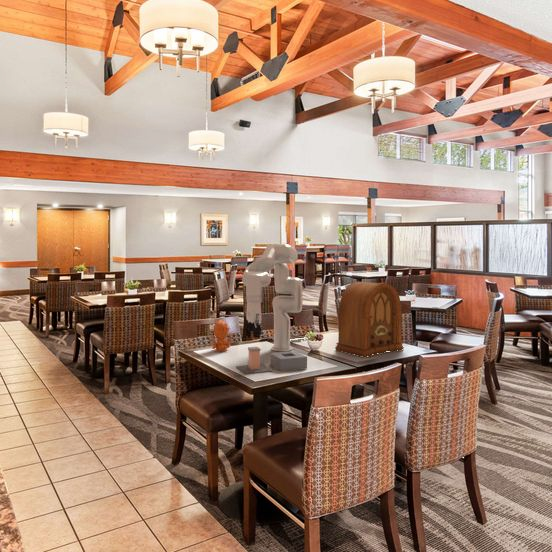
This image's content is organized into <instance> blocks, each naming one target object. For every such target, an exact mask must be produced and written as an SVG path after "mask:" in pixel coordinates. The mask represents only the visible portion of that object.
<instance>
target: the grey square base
mask: <svg viewBox="0 0 552 552" xmlns="http://www.w3.org/2000/svg"><path fill="white" fill-rule="evenodd" d="M270 366H272V367H273V368H277V370H278V371H279V372H287V370H289V371H296V370H295V369H299V370H303V369H302V368H307V369H308V356H306V355H304V354H302V353H300V352H299V351H297V350H291V351H284V352H281V351H276V352H270Z"/></svg>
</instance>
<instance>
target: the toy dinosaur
mask: <svg viewBox="0 0 552 552" xmlns="http://www.w3.org/2000/svg"><path fill="white" fill-rule="evenodd" d="M218 320H219V321H215V322H214V325H213V335H212V337H211V338H212V339H211V342H212V350H214V351H216V350H217V351H216V352H218V351H224V352H227V350H228V349H230V347H231V344H230V342H231V339H232V334H229V332H230V329H231V328H230V325H228V322H227V321H223V320H222V319H218ZM228 336H229V337H228ZM215 337H216V338H217V340H215ZM227 337H228V338H227ZM226 338H227V340H226Z"/></svg>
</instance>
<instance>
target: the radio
mask: <svg viewBox="0 0 552 552" xmlns="http://www.w3.org/2000/svg"><path fill="white" fill-rule="evenodd" d="M402 315H403V312H402V303H401V298H400V295H399V292H398V290H397V289H396V288H395V287H394V286H393V285H391V284H390V283H387V282H367V281H366V282H365V281H355V282H351V284H349V285H348V286H347V287H346V288H345V290H344V291H343V292H342V295H341V297H340V302H339V305H338V337H337V338H338V342H336V343H335V344H336V346H335V347H334V349H335V351H336V350H339V351H338V352H340V351H343V352H342V353H344V352H347V353H346V354H348V353H350V354H349V355H352V354H355V355H354V356H356V355H358V356H357V357H360V356H363V357H362V358H364V357H366V358H368V357H367V356H371V355H372V354H376V355H378V354H377V353H384V352H386V351H397V350H402V349H403V350H404V348H405V347H404V346H403V344H404V343H403V342H402V325H403V324H402V323H403V322H402V320H403V319H402V318H403V317H402ZM403 350H402V351H403ZM397 352H398V351H397ZM386 353H387V352H386ZM384 354H385V353H384ZM372 356H373V355H372ZM372 356H371V357H372Z"/></svg>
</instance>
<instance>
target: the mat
mask: <svg viewBox="0 0 552 552" xmlns="http://www.w3.org/2000/svg"><path fill="white" fill-rule="evenodd" d="M236 367H237V368H236V369H237V370H239V371H240V372H241V373H242V372H243V375H251V374H252V375H253V374H261V373H263V374H265V373H271V372H273V369H271V368H270V367H268V366H266V365H265V364H264V363H260V369H253V370H251V369H250V368H249V364H247V365H245V364H244V365H236Z"/></svg>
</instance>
